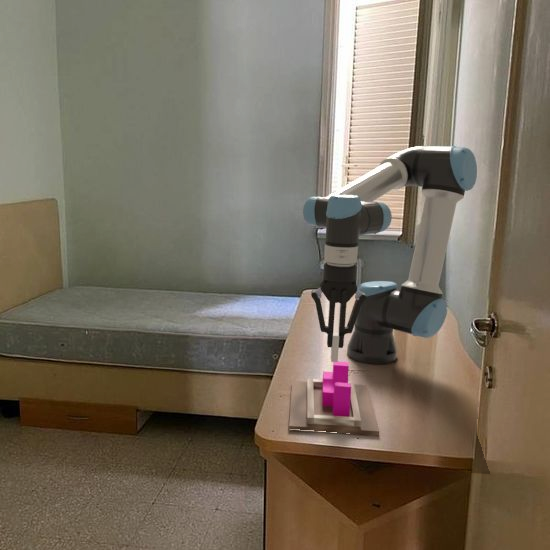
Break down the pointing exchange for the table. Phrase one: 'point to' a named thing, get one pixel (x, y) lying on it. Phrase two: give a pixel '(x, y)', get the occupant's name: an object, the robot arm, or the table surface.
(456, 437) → the table surface
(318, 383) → the locating board
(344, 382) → the toy block
